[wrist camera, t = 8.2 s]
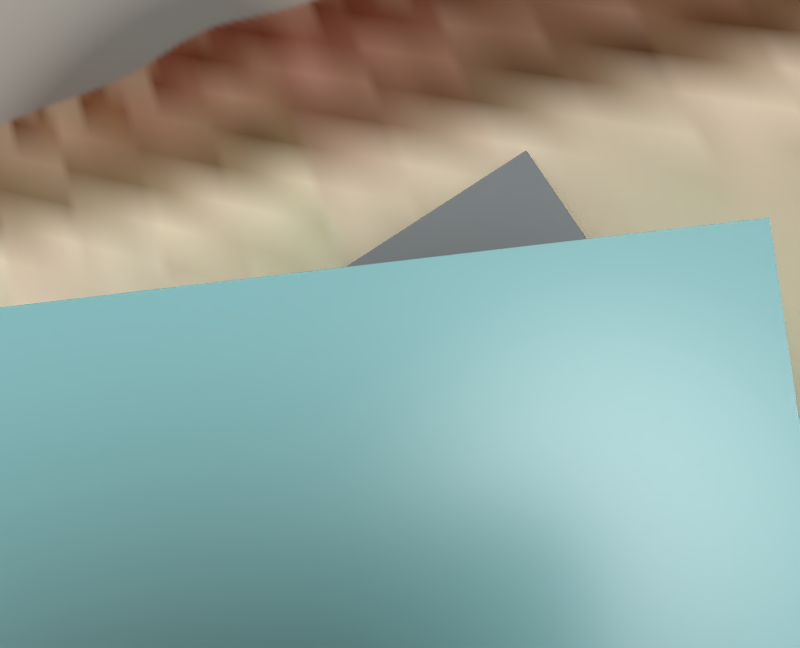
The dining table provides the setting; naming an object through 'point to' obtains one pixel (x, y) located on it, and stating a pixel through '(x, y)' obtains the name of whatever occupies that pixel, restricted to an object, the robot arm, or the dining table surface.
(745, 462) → the teal rectangular block
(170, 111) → the dining table surface
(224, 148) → the dining table surface
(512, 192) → the slate mat
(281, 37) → the dining table surface
